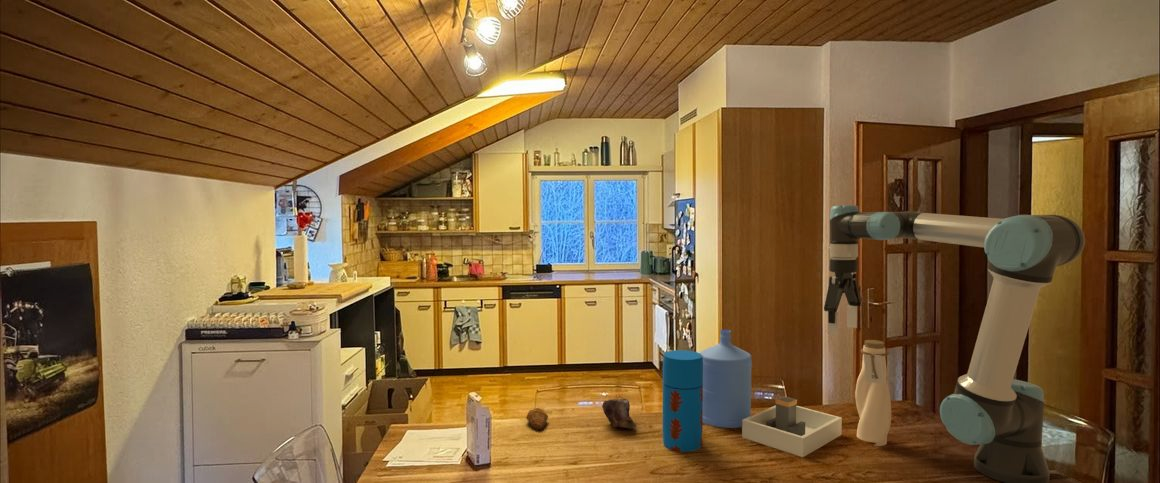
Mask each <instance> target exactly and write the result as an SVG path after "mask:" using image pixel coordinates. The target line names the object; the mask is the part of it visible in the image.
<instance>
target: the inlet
mask: <svg viewBox="0 0 1160 483" xmlns="http://www.w3.org/2000/svg"><path fill="white" fill-rule="evenodd" d="M766 426H769V427H773V428H775V426H776V417H775V418H773V419H771V420H769V421H766ZM787 432H789V433H793V434H796V435H799V436H803V435H805V422H803V421H801V422H799V423H797V424H795V425H793V426H791V427H789V428H787Z"/></svg>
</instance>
